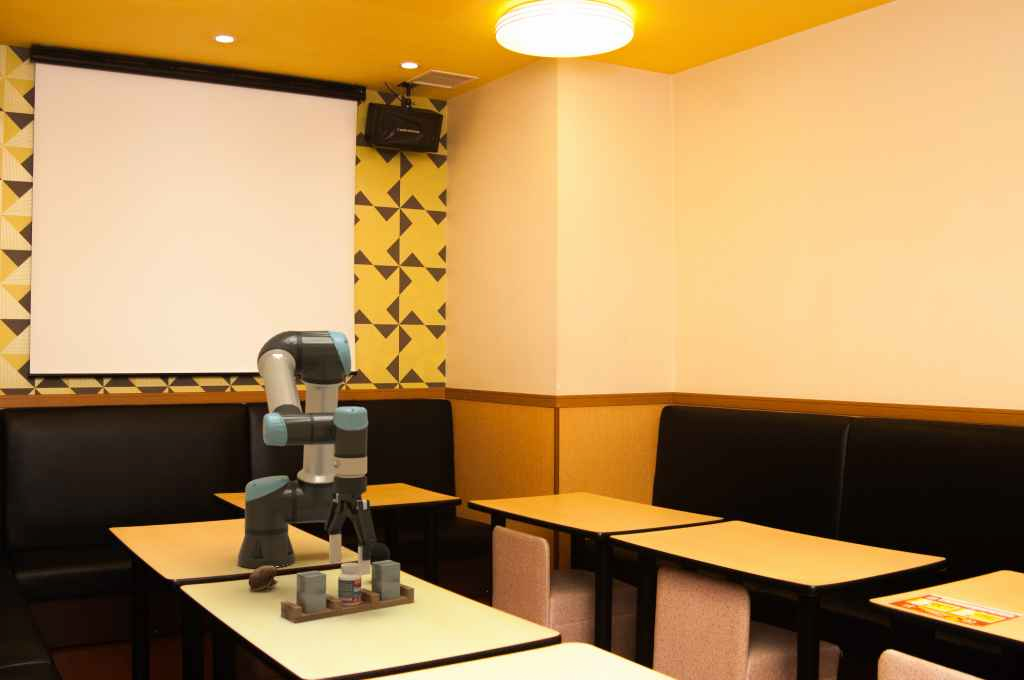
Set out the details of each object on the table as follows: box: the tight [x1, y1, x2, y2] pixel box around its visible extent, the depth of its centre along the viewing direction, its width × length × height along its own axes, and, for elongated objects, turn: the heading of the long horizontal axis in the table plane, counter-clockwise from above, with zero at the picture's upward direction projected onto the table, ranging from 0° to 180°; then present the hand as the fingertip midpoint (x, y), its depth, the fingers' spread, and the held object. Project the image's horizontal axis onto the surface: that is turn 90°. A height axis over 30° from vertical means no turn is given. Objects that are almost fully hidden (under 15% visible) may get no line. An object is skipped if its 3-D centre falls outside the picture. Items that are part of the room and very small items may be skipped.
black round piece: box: [370, 542, 391, 568], centre depth 253 cm, size 6×6×10 cm
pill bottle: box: [337, 562, 362, 606], centre depth 228 cm, size 5×5×9 cm
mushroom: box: [248, 565, 279, 592], centre depth 246 cm, size 8×8×6 cm
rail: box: [280, 559, 415, 624], centre depth 228 cm, size 7×30×9 cm, turn 128°
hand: (349, 568), depth 229 cm, fingers open, 13 cm apart
